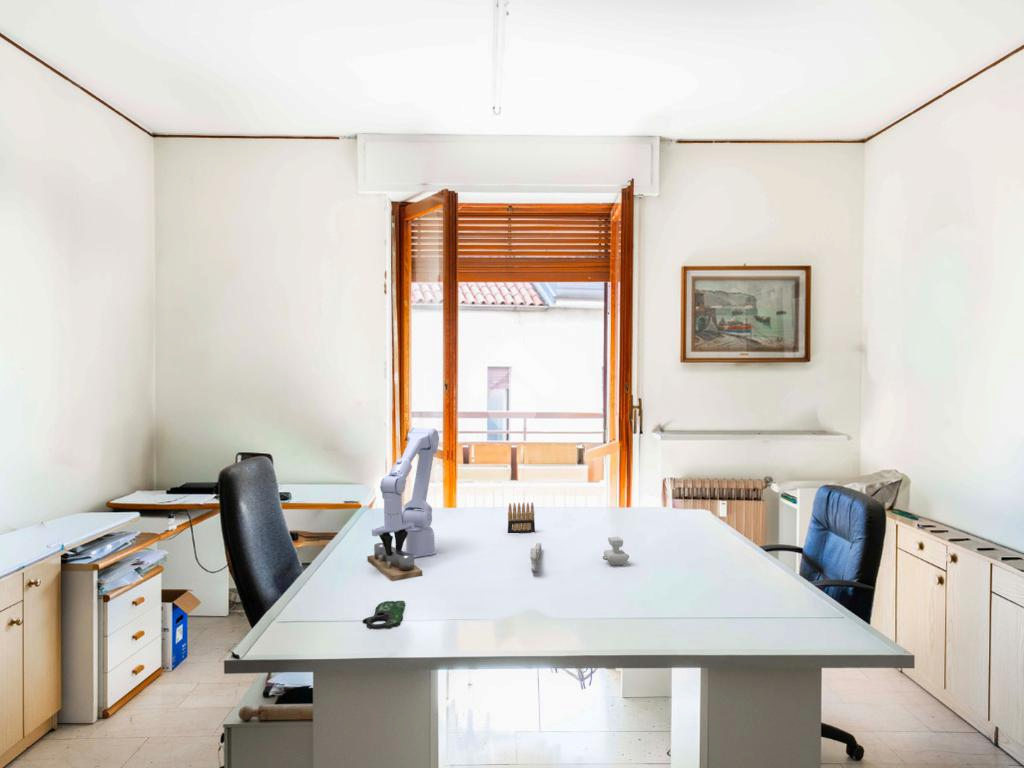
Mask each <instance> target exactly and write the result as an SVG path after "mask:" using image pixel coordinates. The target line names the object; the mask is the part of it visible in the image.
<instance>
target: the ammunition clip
mask: <svg viewBox="0 0 1024 768" xmlns="http://www.w3.org/2000/svg"><path fill="white" fill-rule="evenodd" d="M520 503H521V502H518V504H516V502H514V503H513V505H512V504H511V502H509V504H508V514H507V534H508V533H519V534H532V533H531V532H535V533H536V527H535V525H536V524H535V507H534V502H531V503H530V504H529V502H527V503H526V505H525V502H522V506H521V504H520Z"/></svg>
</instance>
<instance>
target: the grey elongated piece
mask: <svg viewBox="0 0 1024 768" xmlns="http://www.w3.org/2000/svg"><path fill="white" fill-rule="evenodd" d="M373 545H374V547H373V549H374V554H373V555H374V557H375V558H377V559H379V555H382V560H384V561H391V564H393V565H395V566H397V567H399V569H400V570H411V569H413V568H414V565H415V558H414V554H412V553H406V552H404V551H405V550H402V551H401V550H399V549H397V548H396V547H394V546H392V553H391V556H388V555H386V551H385V547H384V544H383V542H378V543H375V544H373Z"/></svg>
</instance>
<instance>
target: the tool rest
mask: <svg viewBox="0 0 1024 768" xmlns="http://www.w3.org/2000/svg"><path fill="white" fill-rule="evenodd" d="M366 559H367V562H369V563H370V565H372V566H373V568H376V569H377V570H378V571H379V572H380V573H381V574H383V575H384V576H385V577H387V578H388V579H389V580H390V581H391V582H393V581H394V582H395V581H399V580H405V579H409V578H410V579H411V578H415V577H421V576H423V570H422V569H421V568H419V567H418V566H417V565H415V564H414V568H413V569H411V570H400V569H399V567H397V566H395V565H393V564H391V561H384V560H382V555H379V559H377V558H375V557H374V554H373V555H367V556H366Z"/></svg>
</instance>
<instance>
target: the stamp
mask: <svg viewBox="0 0 1024 768" xmlns="http://www.w3.org/2000/svg"><path fill="white" fill-rule="evenodd" d="M607 540H608V542H609V545H610V546H611V547H612V549H605V550H604V551H603V555H602V559H603V560H604V561H607V562H608V563H609V565H610V566H622V565H623V566H624V565H626V563H627V562H628V560H629V558H630V555H629V554H626V553H625V551H624V550H623V549H620V548H622V547H623V546H624V540H623V539H622V538H621V537H620V536H610V537H609V536H608V537H607Z"/></svg>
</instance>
